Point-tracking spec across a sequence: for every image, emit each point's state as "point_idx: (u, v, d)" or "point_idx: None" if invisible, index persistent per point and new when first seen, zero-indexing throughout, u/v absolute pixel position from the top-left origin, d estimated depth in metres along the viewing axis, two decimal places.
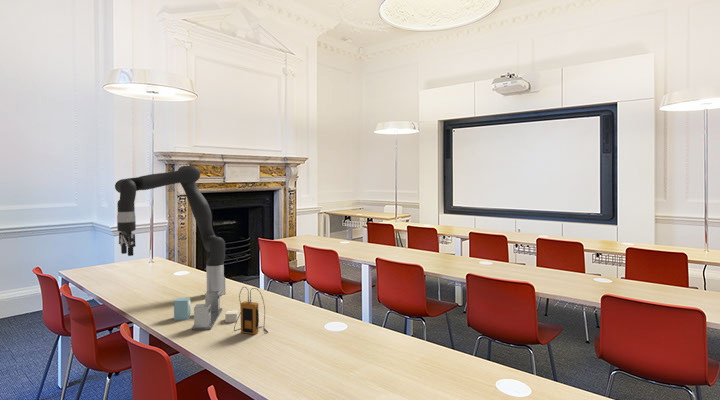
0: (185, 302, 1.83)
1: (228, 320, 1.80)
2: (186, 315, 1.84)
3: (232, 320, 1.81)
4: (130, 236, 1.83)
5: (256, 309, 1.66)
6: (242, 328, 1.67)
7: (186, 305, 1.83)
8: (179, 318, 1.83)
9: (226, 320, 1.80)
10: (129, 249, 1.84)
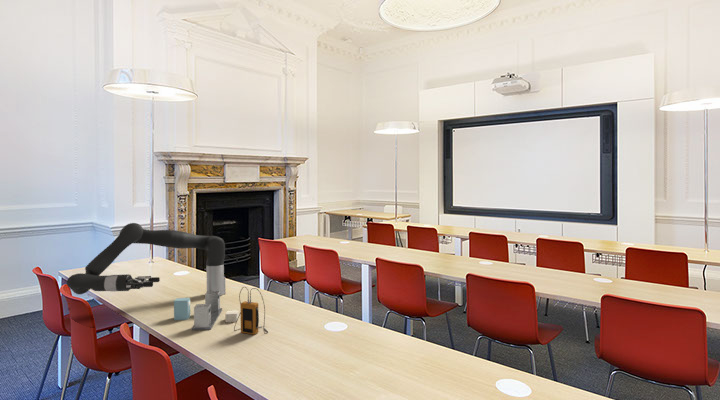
0: (185, 302, 1.83)
1: (228, 320, 1.80)
2: (186, 315, 1.84)
3: (232, 320, 1.81)
4: (127, 288, 1.75)
5: (256, 309, 1.66)
6: (242, 328, 1.67)
7: (186, 305, 1.83)
8: (179, 318, 1.83)
9: (226, 320, 1.80)
10: (144, 286, 1.77)
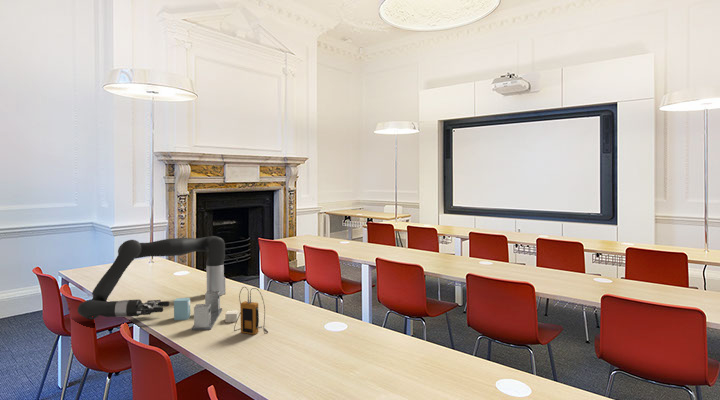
0: (185, 302, 1.83)
1: (228, 320, 1.80)
2: (186, 315, 1.84)
3: (232, 320, 1.81)
4: (138, 314, 1.76)
5: (256, 309, 1.66)
6: (242, 328, 1.67)
7: (186, 305, 1.83)
8: (179, 318, 1.83)
9: (226, 320, 1.80)
10: (154, 311, 1.79)
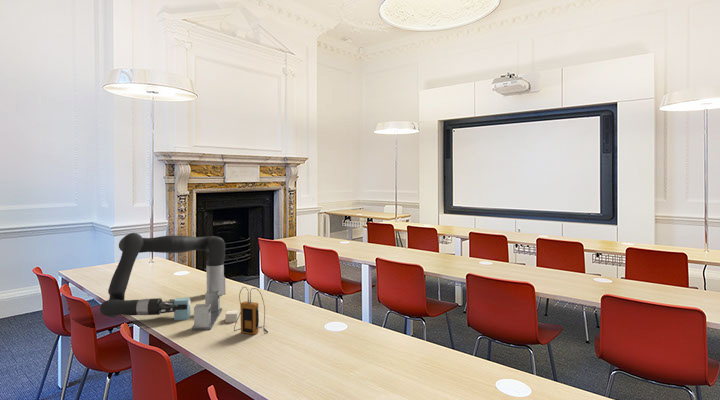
0: (185, 302, 1.83)
1: (228, 320, 1.80)
2: (186, 315, 1.84)
3: (232, 320, 1.81)
4: (163, 312, 1.78)
5: (256, 309, 1.66)
6: (242, 328, 1.67)
7: None
8: (179, 318, 1.83)
9: (226, 320, 1.80)
10: (179, 309, 1.82)
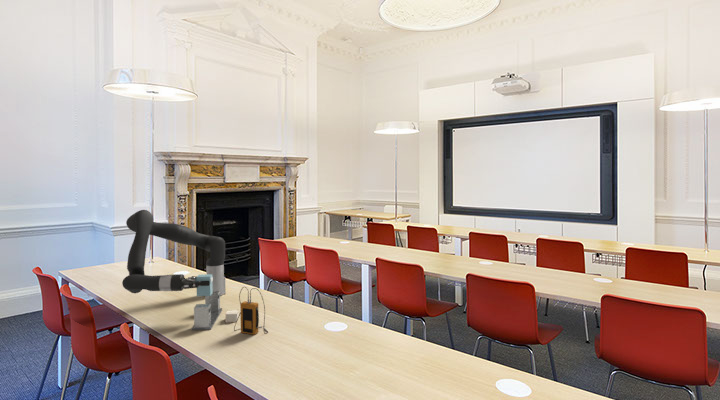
0: (208, 278, 1.81)
1: (228, 320, 1.80)
2: (209, 291, 1.81)
3: (232, 320, 1.81)
4: (186, 287, 1.75)
5: (256, 309, 1.66)
6: (242, 328, 1.67)
7: None
8: (202, 294, 1.81)
9: (226, 320, 1.80)
10: (202, 285, 1.79)
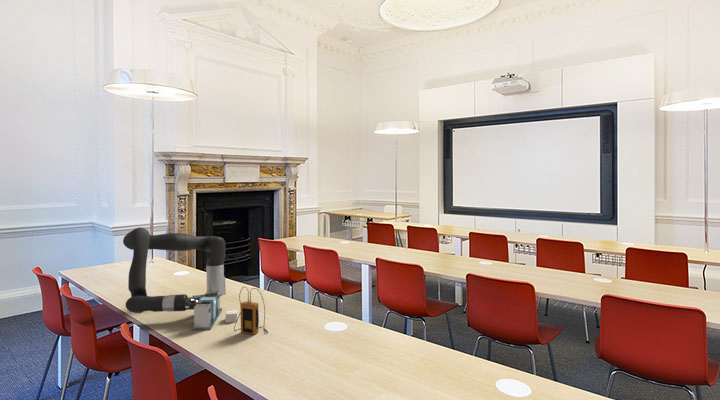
0: (211, 301, 1.81)
1: (228, 320, 1.80)
2: (212, 314, 1.81)
3: (232, 320, 1.81)
4: (186, 308, 1.75)
5: (256, 309, 1.66)
6: (242, 328, 1.67)
7: (212, 304, 1.81)
8: None
9: (226, 320, 1.80)
10: None
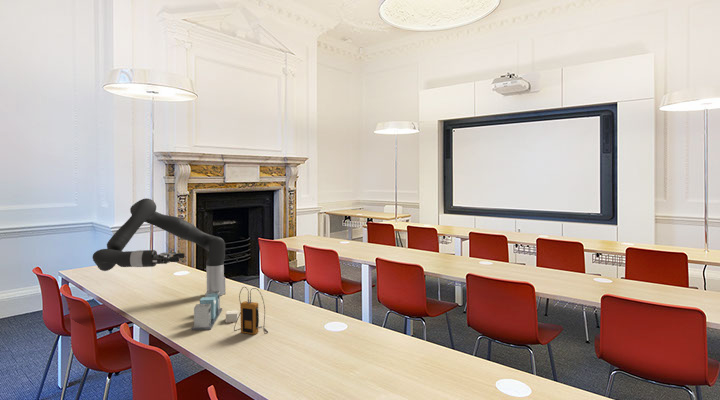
0: (211, 301, 1.81)
1: (228, 320, 1.80)
2: (212, 314, 1.81)
3: (232, 320, 1.81)
4: (154, 262, 1.72)
5: (256, 309, 1.66)
6: (242, 328, 1.67)
7: (212, 304, 1.81)
8: None
9: (226, 320, 1.80)
10: (171, 261, 1.75)
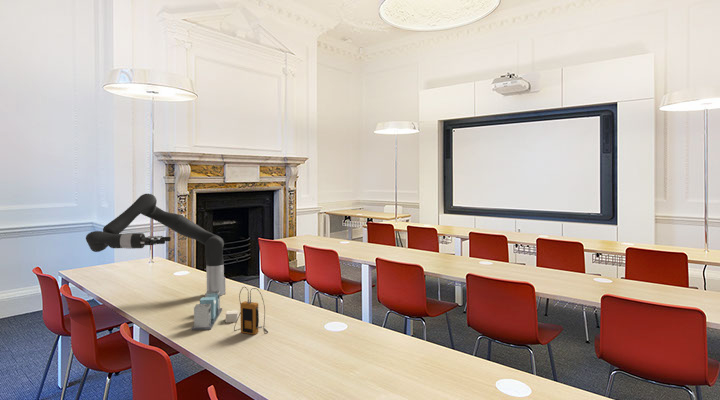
0: (211, 301, 1.81)
1: (228, 320, 1.80)
2: (212, 314, 1.81)
3: (232, 320, 1.81)
4: (142, 244, 1.88)
5: (256, 309, 1.66)
6: (242, 328, 1.67)
7: (212, 304, 1.81)
8: None
9: (226, 320, 1.80)
10: (157, 243, 1.91)
